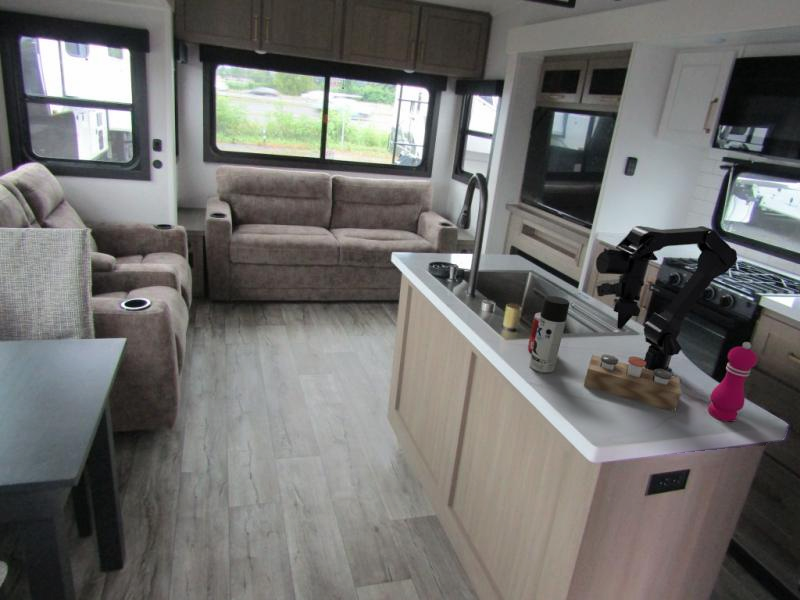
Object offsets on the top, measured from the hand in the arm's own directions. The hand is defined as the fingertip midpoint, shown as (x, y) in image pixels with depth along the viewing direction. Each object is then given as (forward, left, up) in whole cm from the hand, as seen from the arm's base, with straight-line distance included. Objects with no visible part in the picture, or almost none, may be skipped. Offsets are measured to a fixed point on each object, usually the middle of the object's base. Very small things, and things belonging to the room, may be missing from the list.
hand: (619, 328), depth 153 cm
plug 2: (-1, +17, -12) cm, 20 cm away
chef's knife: (-13, +15, -13) cm, 24 cm away
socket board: (+4, +12, -12) cm, 18 cm away
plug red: (+4, +12, -10) cm, 16 cm away
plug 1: (+8, +8, -12) cm, 16 cm away
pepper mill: (-12, +27, -12) cm, 32 cm away
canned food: (+15, -12, -12) cm, 23 cm away
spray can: (+21, -3, -12) cm, 24 cm away
